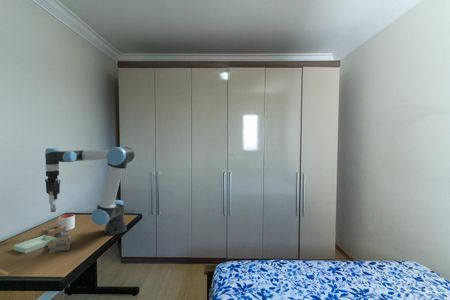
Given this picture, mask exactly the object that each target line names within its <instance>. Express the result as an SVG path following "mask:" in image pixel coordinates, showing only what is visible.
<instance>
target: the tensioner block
mask: <svg viewBox="0 0 450 300" xmlns="http://www.w3.org/2000/svg"><path fill="white" fill-rule="evenodd" d="M43 235H46V236H50V237H54V238H61V237H67V236H69V234H68V231H66V227H65V226H60V225H59V224H55V225H52V226H49V227H45V228H42V229H41V236H43Z"/></svg>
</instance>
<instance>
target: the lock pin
mask: <svg viewBox="0 0 450 300" xmlns="http://www.w3.org/2000/svg"><path fill="white" fill-rule="evenodd" d="M49 194H50V204H49V206H50V211H49V212H50V213H55V212H56V211H57V204H52V194H53V191H51V192H49ZM49 194H48V195H49Z"/></svg>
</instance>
